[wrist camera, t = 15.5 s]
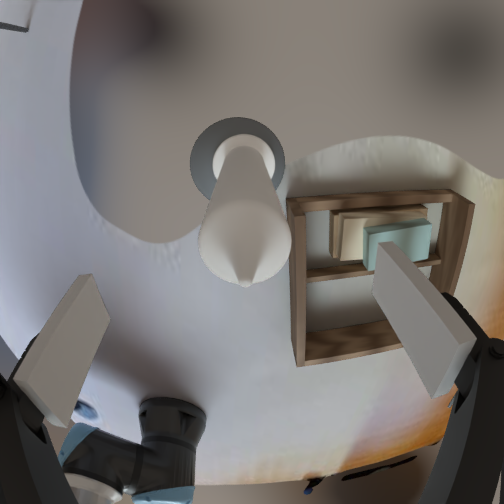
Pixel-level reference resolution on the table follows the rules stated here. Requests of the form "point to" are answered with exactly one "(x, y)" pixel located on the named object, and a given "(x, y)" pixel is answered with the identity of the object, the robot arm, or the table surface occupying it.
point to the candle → (244, 215)
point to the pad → (219, 133)
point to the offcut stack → (379, 232)
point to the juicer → (12, 27)
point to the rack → (381, 332)
